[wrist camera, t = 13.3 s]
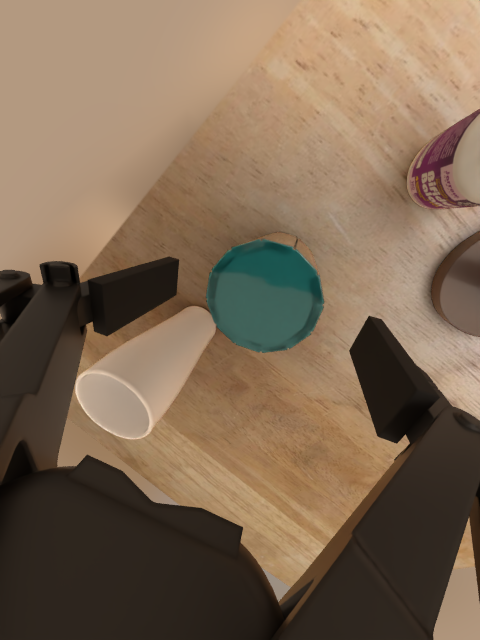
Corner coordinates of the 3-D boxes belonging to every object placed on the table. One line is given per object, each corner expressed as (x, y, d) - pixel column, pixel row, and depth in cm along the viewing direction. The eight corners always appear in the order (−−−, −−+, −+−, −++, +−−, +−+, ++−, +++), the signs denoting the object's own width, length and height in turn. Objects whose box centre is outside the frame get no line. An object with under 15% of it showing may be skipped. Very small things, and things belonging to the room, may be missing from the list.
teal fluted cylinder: (250, 224, 22) (216, 226, 14) (327, 244, 21) (344, 260, 13) (234, 295, 26) (200, 332, 17) (299, 315, 25) (298, 366, 16)
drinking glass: (167, 317, 30) (60, 393, 17) (197, 288, 27) (96, 352, 14) (200, 352, 31) (124, 450, 18) (233, 328, 28) (170, 424, 15)
